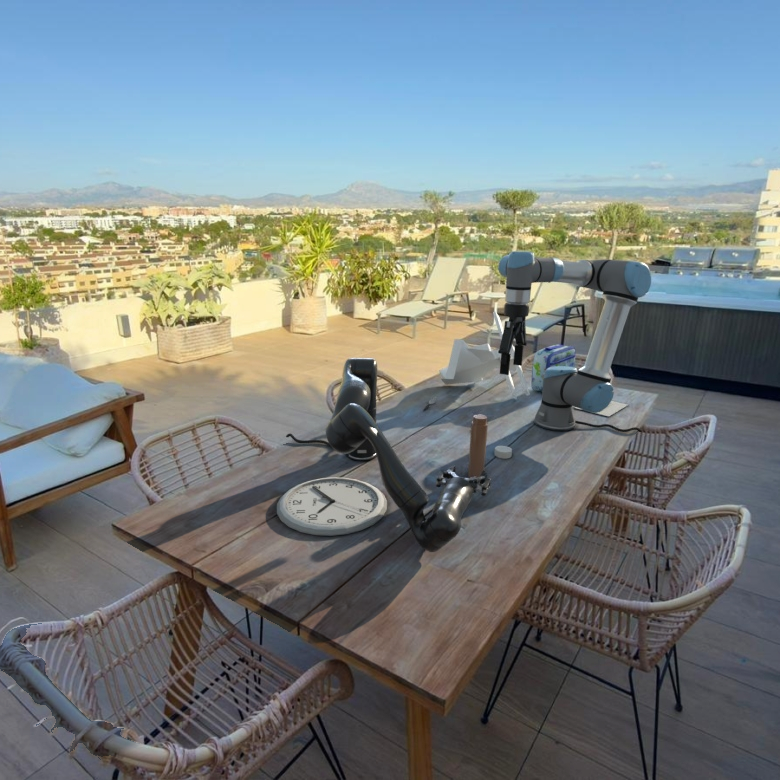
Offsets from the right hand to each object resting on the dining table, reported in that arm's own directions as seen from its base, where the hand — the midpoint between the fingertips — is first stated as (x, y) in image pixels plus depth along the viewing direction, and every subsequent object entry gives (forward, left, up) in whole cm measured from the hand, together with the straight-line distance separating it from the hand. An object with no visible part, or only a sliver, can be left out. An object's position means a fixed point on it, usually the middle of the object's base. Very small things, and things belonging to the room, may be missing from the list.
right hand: (511, 369), depth 168 cm
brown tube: (+10, +17, -30) cm, 36 cm away
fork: (+28, -46, -30) cm, 61 cm away
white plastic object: (+5, -70, -30) cm, 76 cm away
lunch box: (-30, -81, -30) cm, 91 cm away
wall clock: (+50, +41, -30) cm, 71 cm away
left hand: (+13, +28, -23) cm, 39 cm away
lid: (0, 0, -28) cm, 28 cm away
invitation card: (-47, -58, -30) cm, 80 cm away
